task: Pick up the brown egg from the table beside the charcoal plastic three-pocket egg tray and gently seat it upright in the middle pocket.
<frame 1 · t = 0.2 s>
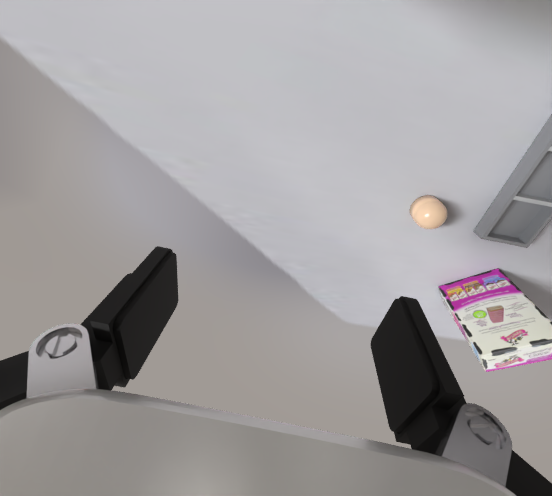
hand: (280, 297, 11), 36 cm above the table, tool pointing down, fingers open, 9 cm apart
egg tray: (540, 173, 41), on the table
candy bar box: (469, 284, 54), on the table
egg: (424, 208, 46), on the table
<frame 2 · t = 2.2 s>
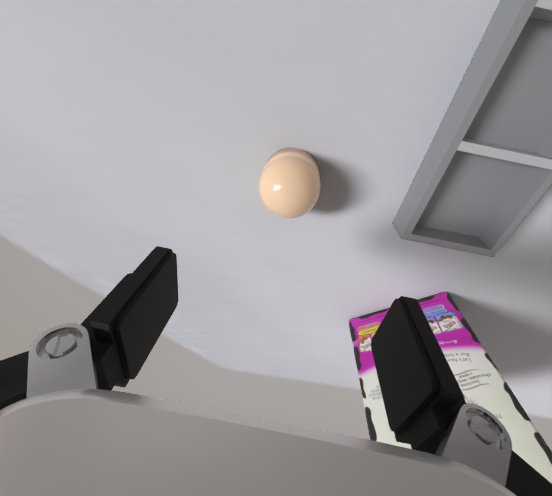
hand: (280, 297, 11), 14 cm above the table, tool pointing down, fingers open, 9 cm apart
egg tray: (519, 90, 18), on the table
candy bar box: (400, 317, 31), on the table
egg: (291, 176, 23), on the table
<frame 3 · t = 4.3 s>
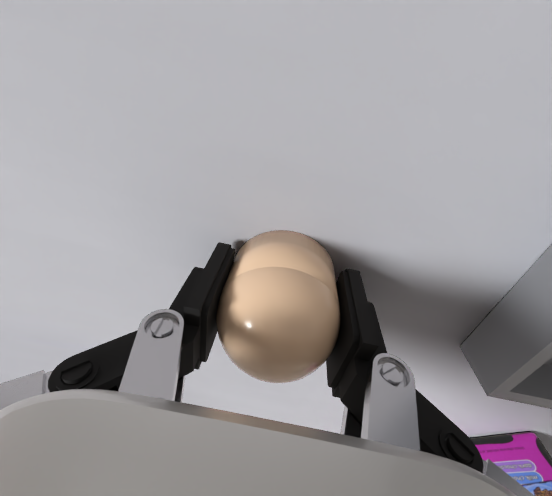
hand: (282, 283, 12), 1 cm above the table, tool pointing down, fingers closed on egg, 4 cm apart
candy bar box: (450, 450, 21), on the table
egg: (283, 274, 13), on the table, touching gripper
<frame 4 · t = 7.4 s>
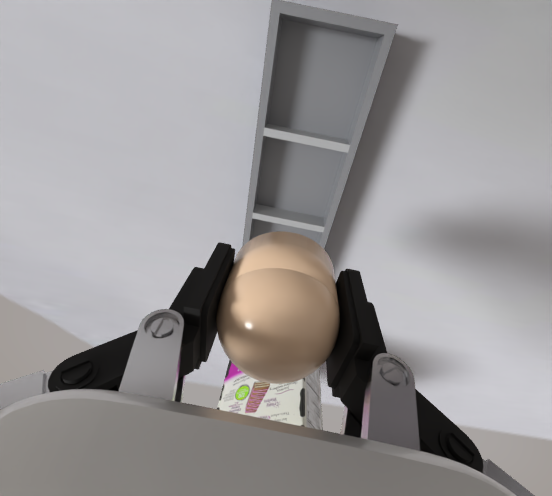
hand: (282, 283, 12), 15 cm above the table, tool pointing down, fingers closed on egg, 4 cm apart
egg tray: (297, 175, 25), on the table
candy bar box: (277, 334, 38), on the table
egg: (282, 275, 13), point 15 cm above the table, touching gripper
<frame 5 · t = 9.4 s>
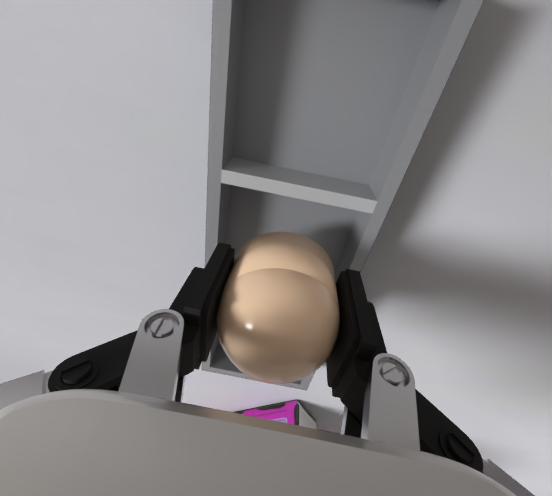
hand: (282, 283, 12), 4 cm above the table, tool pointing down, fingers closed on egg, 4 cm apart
egg tray: (285, 234, 16), on the table
candy bar box: (263, 416, 29), on the table
egg: (283, 275, 13), point 4 cm above the table, touching gripper
when the fingers open (3 cm above the table, at t = 10.8 s): egg drops 2 cm, resting on egg tray.
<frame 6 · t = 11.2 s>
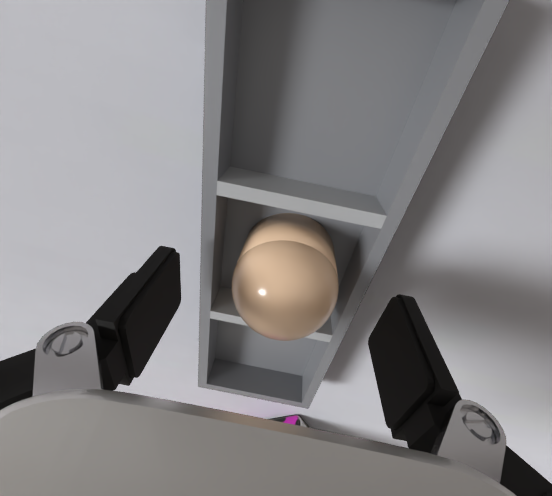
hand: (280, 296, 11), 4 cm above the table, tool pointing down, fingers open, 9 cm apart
egg tray: (287, 246, 15), on the table
egg: (288, 253, 14), point 1 cm above the table, touching egg tray
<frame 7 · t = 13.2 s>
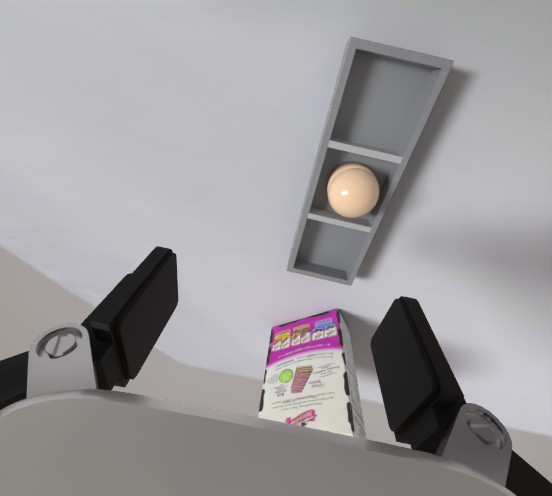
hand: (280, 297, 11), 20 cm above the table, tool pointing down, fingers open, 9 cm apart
egg tray: (348, 182, 28), on the table
candy bar box: (310, 327, 41), on the table
egg: (350, 184, 28), point 1 cm above the table, touching egg tray
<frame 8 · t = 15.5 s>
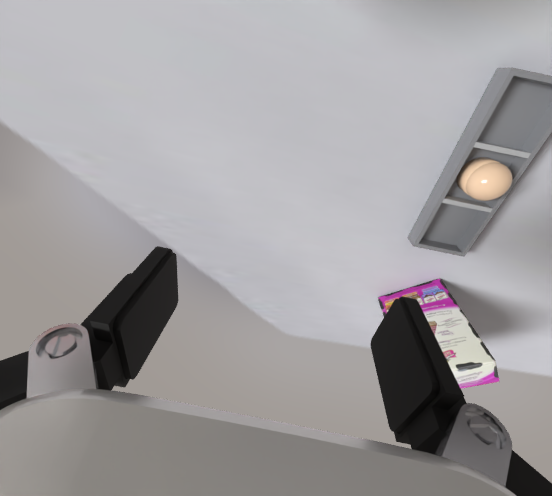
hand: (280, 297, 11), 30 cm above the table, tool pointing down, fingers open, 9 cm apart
egg tray: (473, 173, 36), on the table
candy bar box: (411, 295, 49), on the table
egg: (476, 175, 36), point 1 cm above the table, touching egg tray
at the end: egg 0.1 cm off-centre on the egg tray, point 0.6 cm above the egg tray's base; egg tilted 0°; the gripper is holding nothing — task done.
